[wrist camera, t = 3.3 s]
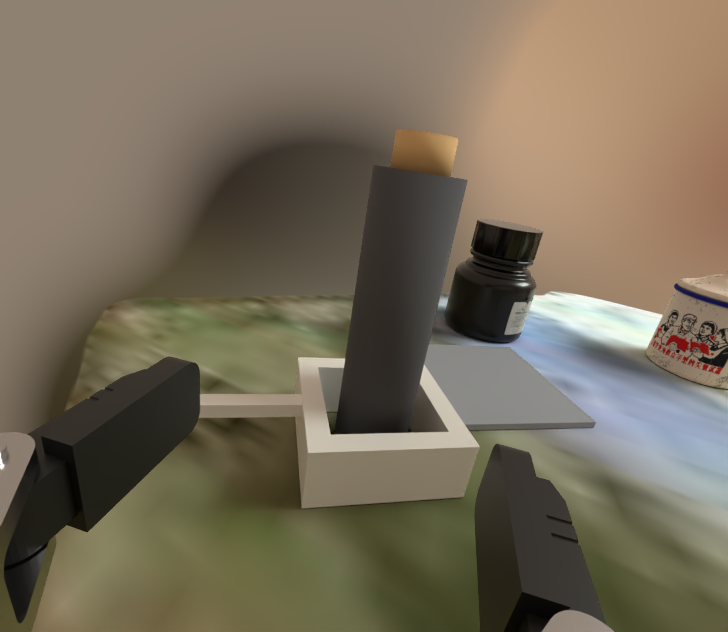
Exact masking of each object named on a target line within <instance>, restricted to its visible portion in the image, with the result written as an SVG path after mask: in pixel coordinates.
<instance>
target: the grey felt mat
mask: <svg viewBox="0 0 728 632" xmlns="http://www.w3.org/2000/svg"><path fill="white" fill-rule="evenodd" d="M424 365H425V366H426V368H427V369H428V371H429V372H430V374H431V375H432V377H433V378H434V380H435V381H436V383H437V384H438V386H439V387H440V389H441V390H442V392H443V393H444V395H445V396H446V397H447V399H448V400H449V402H450V403H451V405H452V406H453V408H454V409H455V411H456V412H457V414H458V415H459V417H460V418H461V420H462V421H463V423H464V424H465V426H466V427H467V429H468V430H505V429H548V428H591V427H594V425H595V423H596V422H595V421H594V420H593V419H592V418H591V417H590V416H588V415H587V414H586V413H585V412H584V411H583V410H581V409H580V408H579V407H578V406H577V405H576V404H575V403H573V402H572V401H571V400H570V399H569V398H568V397H566V396H565V395H564V394H563V393H562V392H561V391H560V390H558V389H557V388H556V387H555V386H554V385H553V384H551V383H550V382H549V381H548V380H547V379H546V378H545V377H543V376H542V375H541V374H540V373H539V372H538V371H536V370H535V369H534V368H533V367H532V366H531V365H530V364H528V363H527V362H526V361H525V360H524V359H523V358H521V357H520V356H519V355H518V354H517V353H516V352H514V351H513V350H512V349H511V348H510V347H489V346H463V345H436V344H429V346H428V350H427V354H426V358H425V363H424Z"/></svg>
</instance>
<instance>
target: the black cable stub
mask: <svg viewBox="0 0 728 632" xmlns="http://www.w3.org/2000/svg"><path fill="white" fill-rule="evenodd" d="M457 144H458V139H457V138H454V137H450V136H446V135H440V134H434V133H429V132H422V131H413V130H397V131H396V137H395V143H394V149H393V155H392V161H391V167H384V166H377V165H374V166H373V172H372V179H371V186H370V193H369V199H368V206H367V213H366V220H365V227H364V234H363V241H362V247H361V254H360V261H359V268H358V275H357V282H356V289H355V295H354V302H353V309H352V316H351V323H350V330H349V337H348V343H347V350H346V357H345V364H344V371H343V378H342V385H341V391H340V398H339V405H338V412H337V419H336V426H335V433H334V435H336V434H377V433H408V430H409V426H410V422H411V418H412V413H413V409H414V405H415V401H416V397H417V392H418V388H419V384H420V380H421V375H422V371H423V367H424V363H425V358H426V354H427V350H428V346H429V341H430V337H431V333H432V329H433V324H434V320H435V316H436V312H437V308H438V303H439V299H440V295H441V291H442V286H443V282H444V278H445V274H446V269H447V265H448V261H449V257H450V252H451V248H452V244H453V239H454V235H455V231H456V227H457V223H458V218H459V214H460V210H461V206H462V202H463V197H464V193H465V189H466V184H467V180H464V179H459V178H453V177H450V176H451V171H452V166H453V162H454V157H455V153H456V148H457Z"/></svg>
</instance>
